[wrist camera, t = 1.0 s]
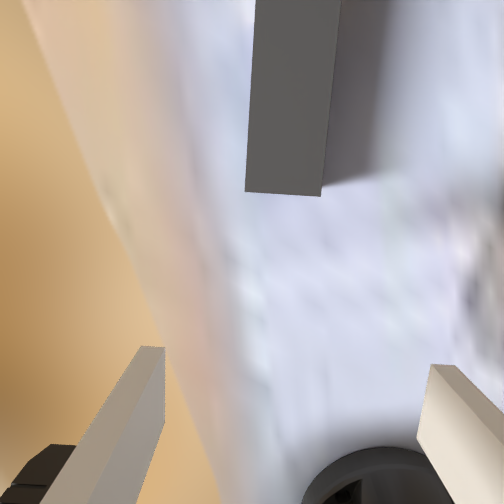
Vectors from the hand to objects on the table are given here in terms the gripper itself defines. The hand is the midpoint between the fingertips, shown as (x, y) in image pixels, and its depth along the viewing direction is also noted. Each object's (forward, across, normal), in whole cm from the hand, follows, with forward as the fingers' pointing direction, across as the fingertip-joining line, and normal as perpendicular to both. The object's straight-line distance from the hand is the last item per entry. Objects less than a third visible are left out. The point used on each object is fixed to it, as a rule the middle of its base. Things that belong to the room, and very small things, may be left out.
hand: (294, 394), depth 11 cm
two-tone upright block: (+17, 0, -14) cm, 22 cm away
